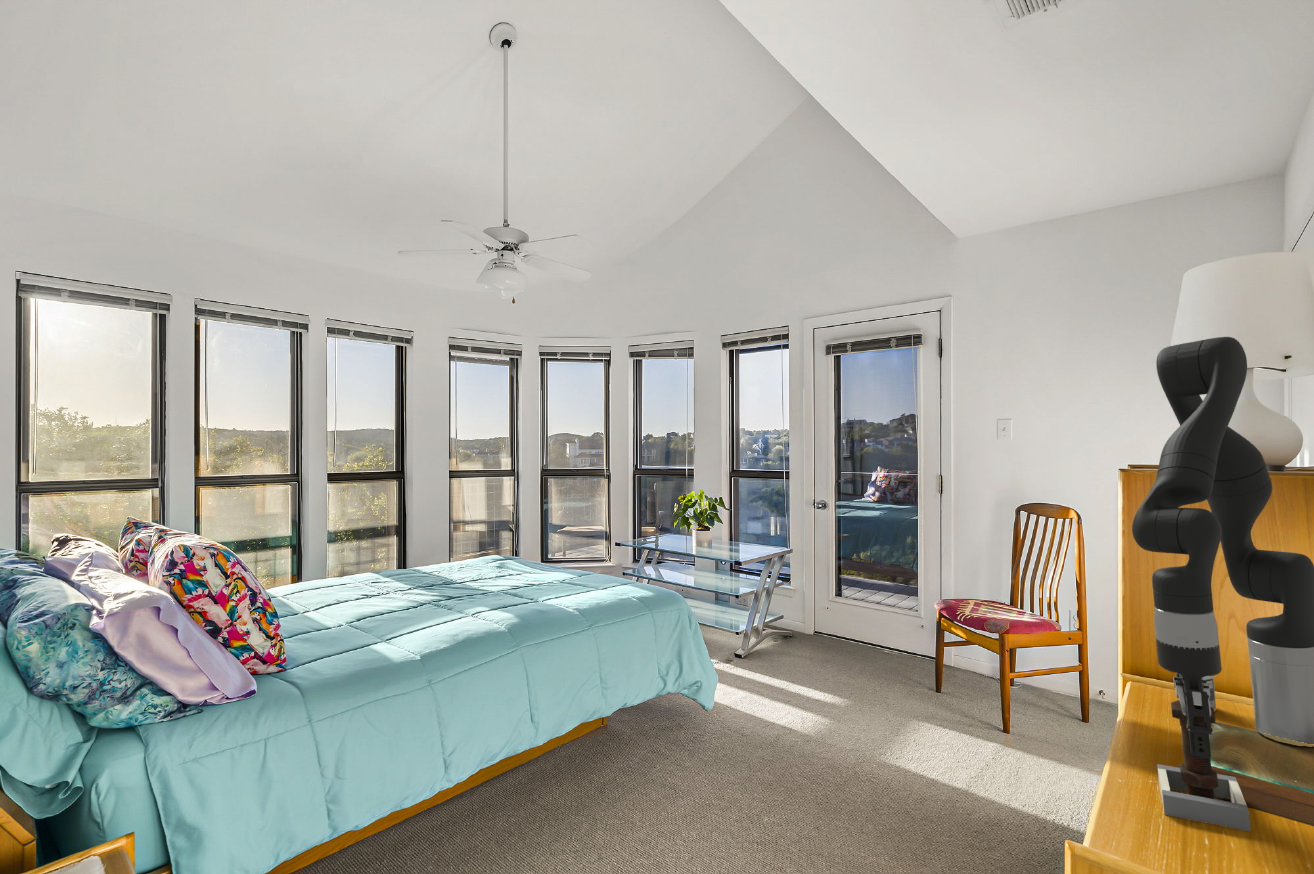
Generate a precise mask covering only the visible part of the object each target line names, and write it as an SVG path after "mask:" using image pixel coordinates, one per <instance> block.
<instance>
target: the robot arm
mask: <svg viewBox="0 0 1314 874" xmlns="http://www.w3.org/2000/svg"><path fill="white" fill-rule="evenodd" d="M1155 363H1156V364H1155V365H1156V372H1157V376H1158V377H1157V378H1158V381H1159V383H1160V385H1161V388H1162V390H1163V392H1164V394H1165V397H1166V398H1167V401H1168V404H1169V405H1170V408H1171V409H1172V411H1173V414H1174V416H1175V417H1176V420H1177V421H1178V424H1179V426H1178V428H1176V430H1175V431H1174V432H1173V433H1172V434H1171V435H1170V437H1168V439H1167V440H1166V442H1165V444H1164V446H1163V447H1162V451H1161V454H1160V457H1159V463H1158V467H1157V473H1156V478H1155V481H1154V483H1153V485H1152V487H1151V489H1150V490H1149V491H1148V493H1147V495H1146V497H1145V498H1144V500H1143V501H1142V503H1141V504H1140V506H1139V508H1137V511H1136V514H1135V515H1134V517H1133V521H1132V526H1131V532H1132V537H1133V539H1134V541H1135V543H1136V544H1137V545H1138V547H1140V548H1141V549H1142V550H1145V551H1148V552H1152V553H1161V554H1177V555H1188V561H1187V563H1186V564H1185V565H1182V566H1170V567H1169V566H1168V567H1162V568H1158V569H1156V570H1155V571H1153V573H1152V575H1151V576H1152V577H1151V586H1152V592H1153V593H1152V595H1153V602H1154V614H1153V615H1154V616H1153V623H1154V624H1153V625H1154V635H1155V644H1156V654H1157V662H1158V663H1157V664H1158V665H1159V666H1160V667H1161V668H1162V669H1164V670H1165V671H1168V672H1170V673H1173V674H1175V675H1176V676H1173V677H1172V680H1173V686H1174V688H1175V696H1176V698H1177V700H1180V707H1181V712H1182V714H1183V715H1185V716H1186V719H1187V728H1188V731H1189V737H1190V747H1191V753H1192V755H1193V756H1195V757H1200V758H1206V759H1209V758H1210V759H1211V757H1212V753H1211V743H1210V735H1211V736H1212V734H1213V731H1214V730H1213V728H1212V724H1211V722H1210V717H1211V708H1210V702H1209V698H1210V689H1209V686H1207V682H1206V680H1204V679H1202V678H1203V677H1205V676H1213V677H1214V676H1217V675H1220V673H1221V672H1222V658H1221V649H1220V639H1219V638H1220V637H1219V629H1218V624H1217V623H1218V622H1217V620H1216V619H1217V618H1216V615H1215V611H1214V599H1213V591H1212V578H1213V577H1212V576H1213V570H1214V566H1215V562H1216V561H1215V560H1216V557H1217V554H1218V550H1219V548H1220V545H1221V549H1222V553H1223V558H1224V562H1225V566H1226V572H1227V575H1228V578H1229V580H1230V584H1231V586H1232V588H1233V589H1234V591H1236V593H1237V594H1238V595H1239V596H1240V597H1243V598H1245V599H1249V600H1255V601H1262V602H1269V603H1277V604H1281V605H1283V608H1282V613H1281V614H1278V615H1274V616H1263V617H1257V618H1254V619H1251V620H1248V621H1247V623H1246V625H1245V626H1246V638H1247V648H1248V649H1247V650H1248V658H1249V668H1250V680H1251V690H1252V700H1253V701H1252V702H1253V712H1254V714H1253V715H1254V723H1255V731H1256V732H1257V731H1258V732H1261V733H1266V734H1270V735H1272V736H1278V737H1280V738H1287V739H1290V740H1295V741H1298V742H1304V743H1307V744H1314V563H1313V560H1312V559H1311V558H1310V557H1309V556H1307V555H1306V554H1302V553H1298V552H1290V551H1278V550H1265V549H1257V548H1256V546H1255V545H1254V542H1253V538H1252V529H1253V527H1254V524H1255V523H1256V520H1257V519H1258V518H1259V516H1260V515H1261V513H1262V512H1263V510H1264V509H1265V507H1266V505H1267V504H1268V502H1269V500H1270V498H1271V496H1272V492H1273V484H1272V482H1273V481H1272V479H1271V476H1270V473H1269V471H1268V468H1267V465H1266V462H1265V459H1264V456H1263V454H1262V453H1261V451H1260V450H1259V449H1258V448H1257V447H1256V446H1255V445H1254V444H1253V443H1252V442H1251V441H1249V440H1248V439H1247V438H1246V437H1244V436H1243V435H1241V434H1240V433H1239V432H1237V431H1235V430H1234V429H1232V428H1231V427H1230V426H1229V424H1230V422H1231V419H1232V417H1233V415H1234V412H1235V410H1236V407H1237V403H1238V402H1239V398H1240V397H1241V393H1242V391H1243V388H1244V386H1245V382H1246V378H1247V372H1248V360H1247V355H1246V352H1245V349H1244V347H1243V346H1242V344H1241V342H1239V340H1237V339H1236V338H1235V337H1231V336H1220V337H1211V338H1206V339H1202V340H1195V341H1190V342H1184V343H1179V344H1178V343H1177V344H1174V345H1170V346H1169V345H1168V346H1166V347H1163V348H1162V349H1161V350H1160V351H1159V352H1158V353H1157V356H1156V361H1155ZM1200 395H1201V396H1202V395H1205V397H1204V399H1202V397H1201V396H1200ZM1205 501H1207V503H1208V506H1209V509H1210V510H1207V508H1206V509H1205V508H1201V507H1200V508H1198V507H1197V508H1196V507H1184V506H1189V505H1192V504H1193V505H1194V504H1198V503H1202V502H1205ZM1194 716H1197V717H1202V718H1203V721H1204V724H1197V723H1193V717H1194ZM1258 732H1257V733H1258Z"/></svg>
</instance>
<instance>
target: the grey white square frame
mask: <svg viewBox="0 0 1314 874" xmlns="http://www.w3.org/2000/svg"><path fill="white" fill-rule="evenodd" d="M1156 766H1157V769H1156V770H1157V778H1158V779H1157V780H1158V785H1159V786H1158V787H1159V791H1160V797H1161V801H1162V806H1163V808H1162V809H1163V811H1164V815H1165V816H1170V817H1174V818H1180V819H1184V820H1189V819H1190V820H1189V821H1194V820H1196V821H1195V822H1199V821H1202V822H1201V823H1204V822H1207V823H1206V824H1209V823H1210V824H1209V825H1214V824H1217V825H1216V826H1219V825H1221V826H1220V827H1224V826H1227V827H1226V828H1230V829H1234V830H1241V831H1246V832H1250V833H1251V832H1252V831H1251V821H1250V819H1251V818H1250V811H1249V808H1248V805H1247V802H1246V801H1245V800H1246V799H1245V798H1244V795H1243V792H1242V790H1241V787H1240V785H1239V783H1238V781H1237V780H1238V779H1237V778H1236V777H1235V776H1231V775H1230V776H1229V775H1225V774H1220V773H1217V777H1218V787H1217V788H1214V789H1213V791H1214V799H1210V798H1205V797H1199V796H1194V795H1188V794H1187V786H1186V785H1187V784H1186V783H1185V782H1184V781H1183V780H1181V772H1180V767H1177V766H1176V767H1175V766H1170V765H1165V764H1164V765H1163V764H1159V763H1157V764H1156ZM1171 790H1174V791H1171ZM1177 791H1179V792H1177ZM1181 792H1185V793H1181ZM1228 797H1229V798H1230V800H1229V801H1226V800H1225V801H1224V800H1221V799H1223V798H1228ZM1216 798H1217V799H1216ZM1185 818H1186V819H1185Z"/></svg>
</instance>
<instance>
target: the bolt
mask: <svg viewBox="0 0 1314 874" xmlns="http://www.w3.org/2000/svg"><path fill="white" fill-rule="evenodd" d="M1170 707H1171V715H1172V716H1171V717H1172V718H1175V719H1177V720H1179V726H1180V733H1181V740H1182V751H1183V763H1180V764H1179V768H1180V772H1181V780H1183V781H1184V782H1185V783H1186V784H1187V785H1186V786H1187V792H1186V794H1188V795H1194V796H1199V797H1205V798H1210V799H1215V797H1214V791H1213V789H1214V788H1217V787H1218V777H1217V774H1218V772H1217V771H1216V770H1215V769H1214V768H1212V762H1211V761H1212V759H1211V758H1209V759H1206V758H1200V757H1195V756H1193V755H1192V753H1191V747H1190V737H1189V731H1188V728H1187V719H1186V716H1185V715H1183V714H1182V712H1181V707H1180V700H1179V699H1177V700H1175V701H1172V702H1170ZM1210 708H1211V717H1210V722H1211V725H1212V724H1216V723H1217V722H1216V721H1217V720H1216V715H1215V711H1214V709H1213V708H1212V707H1210ZM1193 723H1197V724H1204V721H1203V718H1202V717H1197V716H1194V717H1193Z"/></svg>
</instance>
